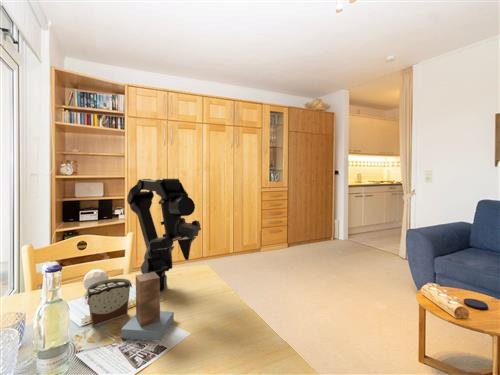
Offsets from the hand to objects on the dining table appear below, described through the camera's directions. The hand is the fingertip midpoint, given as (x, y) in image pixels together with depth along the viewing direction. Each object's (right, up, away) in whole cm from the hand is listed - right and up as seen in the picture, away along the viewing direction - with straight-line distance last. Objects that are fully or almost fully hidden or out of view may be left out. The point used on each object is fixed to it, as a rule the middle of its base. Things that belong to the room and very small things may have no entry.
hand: (179, 264), depth 91 cm
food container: (-19, -13, -9) cm, 25 cm away
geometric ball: (-32, -12, +8) cm, 35 cm away
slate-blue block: (-4, -14, -15) cm, 21 cm away
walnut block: (-5, -11, -15) cm, 19 cm away
